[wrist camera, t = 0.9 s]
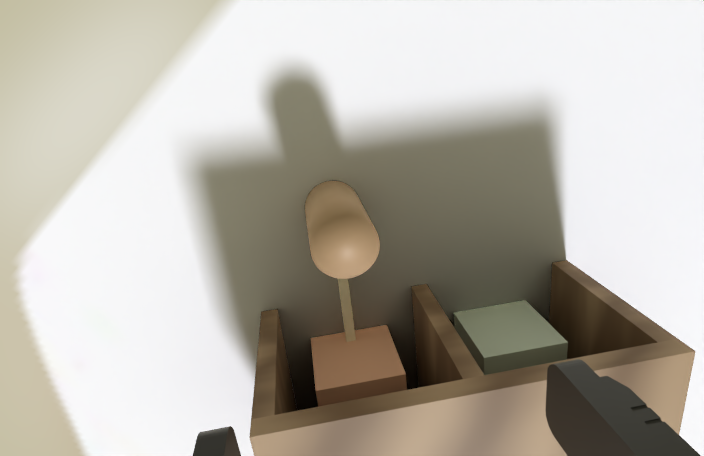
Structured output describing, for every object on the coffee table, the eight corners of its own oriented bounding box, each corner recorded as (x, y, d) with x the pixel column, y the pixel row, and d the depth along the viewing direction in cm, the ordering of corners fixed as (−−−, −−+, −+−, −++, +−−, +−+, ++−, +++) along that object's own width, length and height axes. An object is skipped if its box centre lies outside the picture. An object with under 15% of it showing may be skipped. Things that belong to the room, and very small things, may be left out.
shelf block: (524, 299, 30) (568, 342, 26) (522, 360, 32) (562, 410, 28) (453, 311, 30) (484, 357, 25) (455, 372, 32) (484, 426, 27)
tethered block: (372, 174, 26) (396, 205, 20) (392, 386, 31) (416, 456, 26) (284, 187, 25) (285, 222, 20) (321, 399, 31) (329, 474, 25)
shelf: (566, 260, 30) (695, 351, 20) (558, 382, 33) (664, 507, 24) (261, 311, 28) (249, 437, 19) (287, 434, 31) (288, 592, 22)
